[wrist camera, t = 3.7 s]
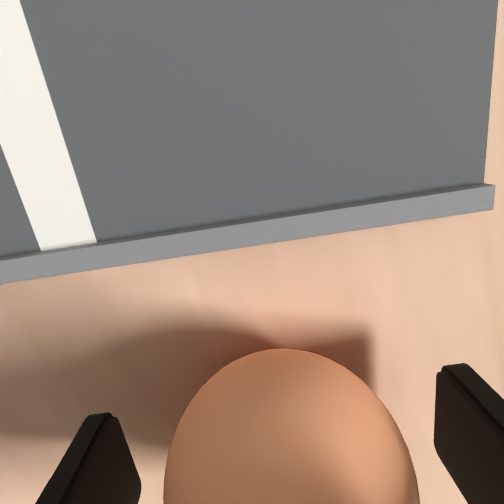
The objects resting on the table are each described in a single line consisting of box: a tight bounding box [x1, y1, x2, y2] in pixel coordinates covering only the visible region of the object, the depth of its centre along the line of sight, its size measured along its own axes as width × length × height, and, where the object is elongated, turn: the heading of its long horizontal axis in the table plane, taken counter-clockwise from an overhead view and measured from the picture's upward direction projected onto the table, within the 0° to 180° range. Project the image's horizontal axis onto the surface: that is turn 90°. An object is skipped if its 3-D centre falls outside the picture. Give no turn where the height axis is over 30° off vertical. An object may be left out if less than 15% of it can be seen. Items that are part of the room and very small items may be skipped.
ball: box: [163, 348, 420, 504], centre depth 8 cm, size 6×6×6 cm
